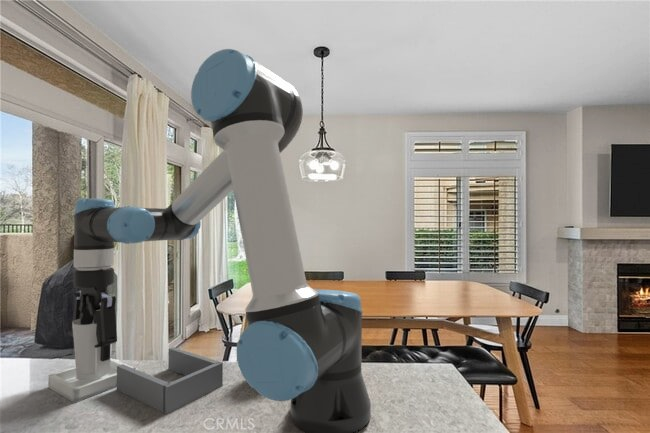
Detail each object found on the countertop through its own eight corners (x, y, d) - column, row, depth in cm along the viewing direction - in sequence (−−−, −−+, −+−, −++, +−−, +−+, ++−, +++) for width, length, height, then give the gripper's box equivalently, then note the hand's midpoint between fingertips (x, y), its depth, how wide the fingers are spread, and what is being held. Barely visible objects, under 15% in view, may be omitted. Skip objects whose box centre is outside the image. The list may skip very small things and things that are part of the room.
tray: (135, 379, 80) (135, 368, 80) (74, 403, 69) (74, 389, 69) (107, 367, 86) (107, 356, 86) (48, 387, 76) (48, 375, 76)
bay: (222, 385, 77) (222, 362, 77) (166, 414, 65) (167, 387, 65) (172, 367, 86) (173, 347, 86) (116, 389, 75) (116, 366, 75)
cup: (93, 383, 73) (94, 326, 73) (61, 380, 75) (62, 323, 75) (122, 368, 81) (123, 316, 81) (93, 365, 82) (94, 314, 83)
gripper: (136, 269, 76) (135, 374, 75) (90, 263, 87) (89, 355, 86) (99, 273, 69) (98, 389, 69) (54, 266, 80) (53, 366, 80)
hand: (93, 370), depth 78 cm, fingers open, 7 cm apart
